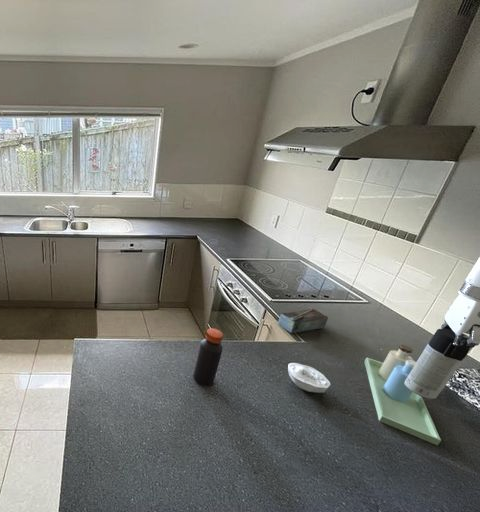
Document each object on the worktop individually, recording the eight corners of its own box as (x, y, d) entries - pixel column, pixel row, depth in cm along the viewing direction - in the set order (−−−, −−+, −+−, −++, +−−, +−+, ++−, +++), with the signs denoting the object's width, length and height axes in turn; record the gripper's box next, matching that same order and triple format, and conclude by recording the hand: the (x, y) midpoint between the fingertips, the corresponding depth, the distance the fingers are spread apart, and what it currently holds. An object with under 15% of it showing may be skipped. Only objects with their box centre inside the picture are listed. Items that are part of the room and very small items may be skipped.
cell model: (323, 405, 90) (331, 390, 87) (280, 384, 97) (286, 369, 94) (326, 386, 97) (334, 372, 94) (286, 368, 104) (292, 354, 101)
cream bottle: (398, 376, 101) (416, 346, 96) (402, 387, 97) (421, 356, 92) (376, 368, 105) (392, 339, 99) (379, 378, 100) (396, 348, 95)
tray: (407, 377, 102) (410, 372, 101) (436, 446, 78) (441, 440, 77) (363, 362, 108) (366, 357, 107) (378, 422, 85) (381, 416, 84)
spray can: (444, 400, 79) (484, 343, 71) (420, 399, 79) (458, 342, 71) (419, 381, 85) (454, 327, 77) (396, 380, 85) (429, 326, 77)
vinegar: (196, 368, 102) (207, 323, 94) (215, 377, 98) (228, 331, 91) (190, 380, 97) (201, 334, 89) (210, 390, 93) (223, 342, 86)
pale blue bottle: (404, 393, 95) (424, 362, 89) (409, 405, 90) (430, 373, 85) (380, 384, 98) (398, 353, 92) (384, 395, 93) (403, 364, 88)
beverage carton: (276, 323, 130) (280, 311, 128) (309, 318, 135) (313, 307, 132) (290, 333, 123) (295, 321, 121) (324, 328, 127) (330, 316, 125)
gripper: (530, 314, 60) (482, 376, 67) (491, 284, 73) (454, 339, 80) (477, 302, 64) (437, 362, 71) (449, 276, 77) (417, 329, 84)
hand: (447, 349), depth 76 cm, fingers closed on spray can, 6 cm apart
